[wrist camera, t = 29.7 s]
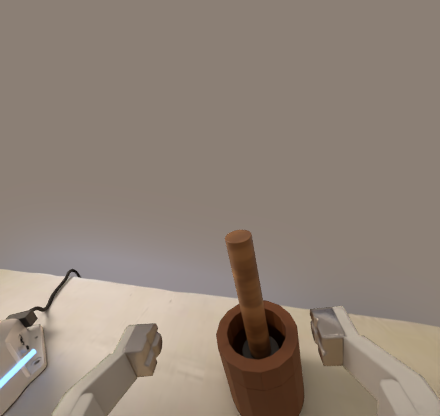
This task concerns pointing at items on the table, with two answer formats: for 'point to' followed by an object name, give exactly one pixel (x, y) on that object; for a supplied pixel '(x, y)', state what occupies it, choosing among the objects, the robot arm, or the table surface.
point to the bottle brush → (249, 296)
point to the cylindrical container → (263, 365)
